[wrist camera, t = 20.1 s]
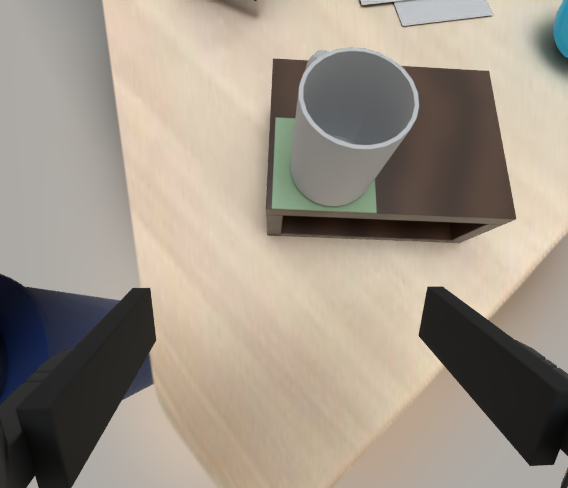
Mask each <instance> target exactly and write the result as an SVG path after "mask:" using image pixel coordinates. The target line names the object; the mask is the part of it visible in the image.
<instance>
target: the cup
mask: <svg viewBox="0 0 568 488" xmlns="http://www.w3.org/2000/svg"><path fill="white" fill-rule="evenodd" d="M418 109H419V99H418V92H417V89H416V87H415V84H414V82H413V80H412V78H411V77H410V76H409V75H408V73H407V72H406V71H405V69H404V68H403V67H401V66H400V65H399V64H398V63H397V62H395V61H394V60H393V59H391V58H389V57H387V56H385V55H383V54H381V53H379V52H376V51H372V50H369V49H365V48H343V49H336V50H333V51H331V52H329V51H325V50H320V51H317V52H316V53H315V54H314V55H312V56H311V58H310V59H309V61H308V62H307V66H306V69H305V72H304V74H303V76H302V79H301V82H300V85H299V91H298V100H297V109H296V117H295V126H294V135H293V143H292V152H291V174H292V178H293V181H294V183H295V185H296V186H297V188H298V190H299V191H300V192H301V193H302V194H303V195H304V196H305V197H307V198H308V199H310V200H312V201H313V202H315V203H318V204H322V205H325V206H341V205H346V204H349V203H351V202H353V201H355V200H357V199H358V198H359V197H360V196H361V195H362V194H363V193H364V192H365V191H366V190H367V189H368V188H369V186H370V185H371V184H372V182H373V181H374V179H375V178H376V177H377V175H378V174H379V172H380V171H381V170H382V168H383V167H384V165H385V164H386V163H387V161H388V160H389V158H390V157H391V156H392V154H393V153H394V151H395V150H396V149H397V147H398V146H399V144H400V143H401V142H402V140H403V139H404V137H405V136H406V135H407V133H408V132H409V131H410V129H411V127H412V125H413V124H414V122H415V120H416V118H417V114H418Z"/></svg>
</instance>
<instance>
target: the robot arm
mask: <svg viewBox="0 0 568 488" xmlns="http://www.w3.org/2000/svg"><path fill="white" fill-rule="evenodd" d="M419 337H420V338H421V339H422V340H423V342H424V343H425V344H426V345H427V346H428V347H429V349H430V350H431V351H432V352H433V353H434V354H435V356H436V357H437V358H438V359H439V360H440V361H441V363H442V364H443V365H444V366H445V367H446V368H447V370H449V372H450V373H451V374H452V375H453V377H454V378H455V379H456V380H457V381H458V382H459V384H460V385H461V386H462V387H463V388H464V389H465V391H466V392H467V393H468V394H469V395H470V396H471V398H472V399H473V400H474V401H475V402H476V403H477V404H478V406H479V407H480V408H481V409H482V410H483V412H484V413H485V414H486V415H487V416H488V417H489V419H490V420H491V421H492V422H493V423H494V424H495V426H496V427H497V428H498V429H499V430H500V431H501V433H502V434H503V435H504V436H505V437H506V438H507V440H508V441H509V442H510V443H511V444H512V445H513V446H514V448H515V449H516V450H517V451H518V452H519V454H520V455H521V456H522V457H523V458H524V459H525V461H526V462H527V463H528V464H529V465H530V466H538V465H554V463H555V460H556V457H557V455H558V453H559V450H560V449H561V450H562V451H563V452H564V453H565V454H566V455H567V456H568V374H567V373H566V372H564V371H563V370H562V369H560V368H557V366H556V365H555V364H553V363H552V362H551V361H549V360H546V359H545V357H544V356H542V355H541V354H539V353H538V352H537V351H535V350H534V349H532V348H530V347H529V346H526V345H525V344H523V343H521V342H519V341H517V340H514V339H513V338H512V337H510V336H509V335H507V334H506V333H505V332H503V331H502V330H501V329H499V328H498V327H497V326H495V325H494V324H493V323H491V322H490V321H489V320H487V319H486V318H484V317H483V316H482V315H480V314H479V313H478V312H476V311H475V310H474V309H472V308H471V307H470V306H468V305H467V304H465V303H464V302H463V301H461V300H460V299H459V298H457V297H456V296H455V295H453V294H452V293H451V292H449V291H448V290H446V289H445V288H444V287H427V292H426V298H425V303H424V309H423V314H422V320H421V325H420V331H419ZM155 341H156V334H155V326H154V317H153V308H152V300H151V291H150V288H132V289H131V291H129V293H128V294H127V295H126V296H125V297H124V298H123V299H122V300H121V301H120V302H119V303H118V304H117V305H116V306H115V307H114V308H113V309H112V310H111V311H110V312H109V313H108V314H107V315H106V316H105V317H104V318H103V319H102V320H101V321H100V322H99V323H98V324H97V325H96V326H95V327H94V328H93V329H92V330H91V332H90V333H89V334H88V335H87V336H86V337H85V338H84V339H83V340H82V341H81V342H80V343H79V344H78V345H77V346H76V347H75V348H74V349H64V350H62V351H61V352H59V353H57V354H56V355H54V356H52V357H51V358H49V359H47V360H46V361H45V362H44V363H43V364H42V365H41V366H40V367H39V368H38V369H37V370H36V371H35V373H33V374H32V375H30V376H29V377H28V378H27V379H26V380H25V383H22V384H21V385H20V386H19V387H18V388H17V389H16V390H15V391H14V392H13V393H12V394H10V395H9V396H8V397H7V398H6V399H5V400H4V401H3V402H2V403H1V404H0V488H26V487H27V486H28V485H29V483H30V482H31V480H32V479H33V478H34V476H36V480H37V483H38V487H39V488H71V487H72V486H73V484H74V482H75V480H76V479H77V477H78V475H79V474H80V472H81V470H82V468H83V466H84V465H85V463H86V461H87V460H88V458H89V456H90V454H91V453H92V451H93V449H94V447H95V446H96V444H97V442H98V440H99V439H100V437H101V435H102V434H103V432H104V430H105V428H106V427H107V425H108V423H109V421H110V420H111V418H112V416H113V414H114V413H115V411H116V409H117V407H118V405H119V404H120V402H121V401H122V399H123V397H124V395H125V394H126V392H127V390H128V388H129V387H130V385H131V383H132V381H133V380H134V378H135V376H136V374H137V373H138V371H139V369H140V367H141V366H142V364H143V362H144V361H145V359H146V357H147V355H148V354H149V352H150V350H151V348H152V347H153V345H154V343H155ZM7 368H8V358H7V350H6V345H5V342H4V339H3V337H2V334H1V332H0V397H1V395H2V392H3V389H4V385H5V381H6V376H7ZM567 487H568V469H567V471H566V474H565V476H564V478H563V481H562V483H561V488H567Z"/></svg>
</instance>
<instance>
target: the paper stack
mask: <svg viewBox="0 0 568 488" xmlns="http://www.w3.org/2000/svg"><path fill="white" fill-rule="evenodd" d="M360 1H361V4H362V5H368V4H377V3H386V2H394V5H395V7H396V10H397V13H398V15H399V18H400V20H401V23H402V25H403V26H407V25H416V24H424V23H432V22H440V21H449V20H457V19H465V18H474V17H482V16H490V15H494V14H493V12H492V10H491V8H490V6H489V4H488V2H487V0H360Z"/></svg>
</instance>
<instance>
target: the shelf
mask: <svg viewBox="0 0 568 488" xmlns="http://www.w3.org/2000/svg"><path fill="white" fill-rule="evenodd" d="M307 62H308V61H307V60H289V59H273V72H272V93H271V114H270V135H269V156H268V177H267V198H266V218H267V235H274V236H300V237H325V238H351V239H376V240H402V241H427V242H453V243H461V242H463V241H465V240H468V239H470V238H473V237H475V236H477V235H480V234H482V233H484V232H487V231H489V230H492V229H494V228H496V227H499V226H501V225H503V224H506V223H508V222H511V221H513V220H515V219H516V214H515V209H514V204H513V198H512V193H511V187H510V182H509V177H508V171H507V166H506V160H505V155H504V150H503V144H502V139H501V133H500V128H499V122H498V117H497V112H496V106H495V101H494V95H493V90H492V85H491V79H490V74H489V71H478V70H461V69H444V68H427V67H410V66H401V67H403V68H404V69H405V71H406V72H407V73H408V75H409V76H410V77H411V78H412V80H413V82H414V84H415V87H416V89H417V92H418V99H419V109H418V114H417V118H416V120H415V122H414V124H413V125H412V127H411V129H410V131H409V132H408V133H407V135H406V136H405V137H404V139H403V140H402V142H401V143H400V144H399V146H398V147H397V149H396V150H395V151H394V153H393V154H392V156H391V157H390V158H389V160H388V161H387V163H386V164H385V165H384V167H383V168H382V170H381V171H380V172H379V174H378V175H377V177H376V178H375V179H374V181H373V182H372V184H371V185H370V186H369V188H368V189H367V190H366V191H365V192H364V193H363V194H362V195H361V196H360V197H359V198H358V199H357V200H355V201H353V202H351V203H349V204H346V205H341V206H325V205H322V204H318V203H315V202H313V201H312V200H310V199H308V198H307V197H305V196H304V195H303V194H302V193H301V192H300V191H299V190H298V188H297V186H296V185H295V183H294V181H293V178H292V174H291V152H292V143H293V135H294V126H295V117H296V109H297V100H298V91H299V85H300V82H301V79H302V76H303V74H304V72H305V69H306V66H307Z"/></svg>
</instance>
